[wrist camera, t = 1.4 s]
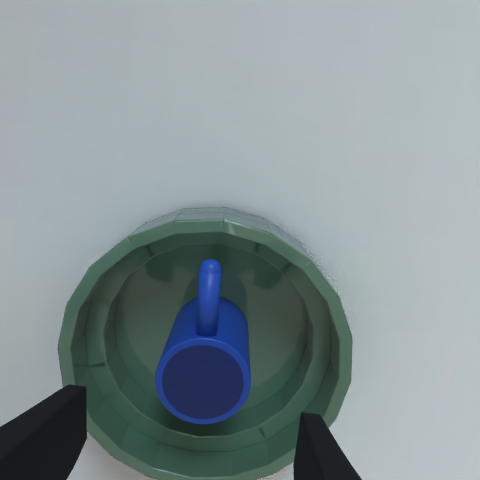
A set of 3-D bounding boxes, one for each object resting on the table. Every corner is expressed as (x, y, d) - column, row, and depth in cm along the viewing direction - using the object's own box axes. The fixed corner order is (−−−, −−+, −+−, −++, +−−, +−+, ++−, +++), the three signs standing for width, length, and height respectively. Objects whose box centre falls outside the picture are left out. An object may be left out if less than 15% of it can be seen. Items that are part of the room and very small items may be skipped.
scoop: (245, 366, 22) (247, 428, 17) (172, 361, 22) (153, 422, 17) (256, 239, 21) (261, 267, 16) (177, 233, 21) (158, 259, 16)
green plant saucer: (243, 469, 24) (244, 531, 20) (47, 355, 23) (7, 398, 19) (381, 296, 22) (412, 327, 18) (173, 155, 20) (157, 156, 16)
